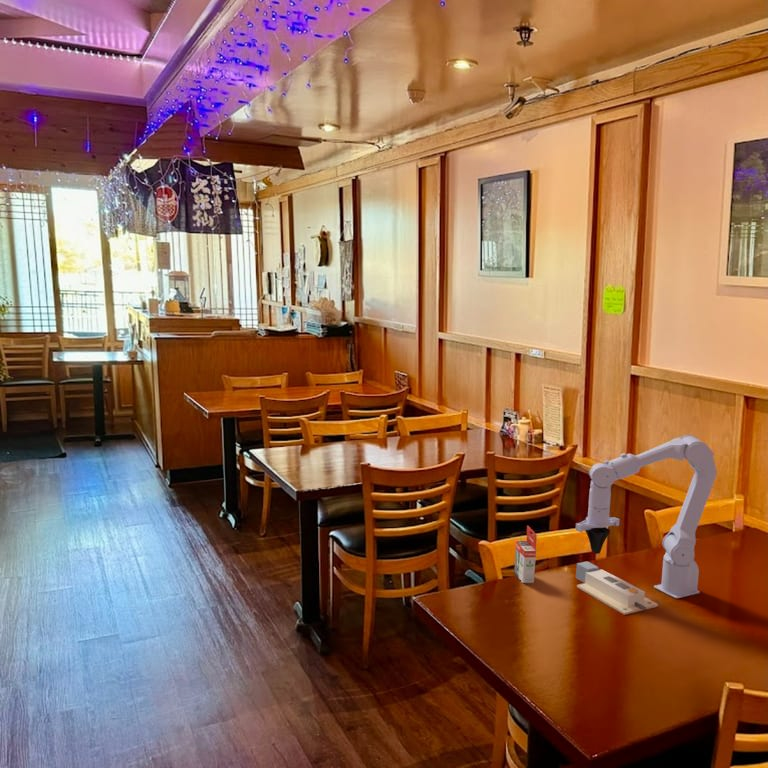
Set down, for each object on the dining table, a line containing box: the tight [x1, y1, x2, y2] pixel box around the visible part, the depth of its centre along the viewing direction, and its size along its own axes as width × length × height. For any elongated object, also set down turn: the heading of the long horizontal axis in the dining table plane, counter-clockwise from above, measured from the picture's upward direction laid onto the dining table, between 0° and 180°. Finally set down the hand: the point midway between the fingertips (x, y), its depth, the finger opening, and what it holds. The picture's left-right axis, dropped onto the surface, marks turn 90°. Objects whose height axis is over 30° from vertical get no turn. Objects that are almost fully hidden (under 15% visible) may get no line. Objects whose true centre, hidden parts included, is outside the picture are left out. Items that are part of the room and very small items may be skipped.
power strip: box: [576, 569, 659, 615], centre depth 184 cm, size 12×19×4 cm, turn 26°
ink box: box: [513, 525, 538, 584], centre depth 195 cm, size 4×8×15 cm, turn 7°
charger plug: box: [575, 561, 599, 584], centre depth 193 cm, size 4×8×4 cm, turn 26°
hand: (595, 552), depth 191 cm, fingers closed
